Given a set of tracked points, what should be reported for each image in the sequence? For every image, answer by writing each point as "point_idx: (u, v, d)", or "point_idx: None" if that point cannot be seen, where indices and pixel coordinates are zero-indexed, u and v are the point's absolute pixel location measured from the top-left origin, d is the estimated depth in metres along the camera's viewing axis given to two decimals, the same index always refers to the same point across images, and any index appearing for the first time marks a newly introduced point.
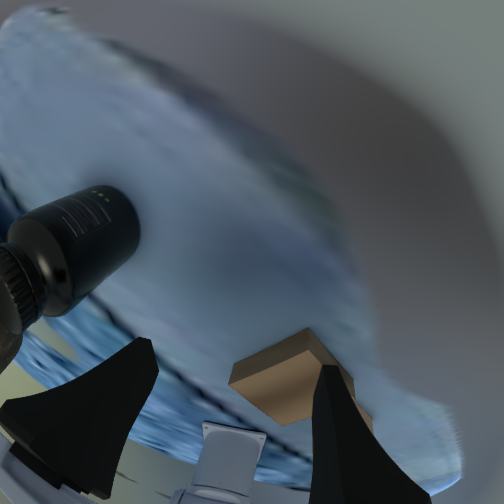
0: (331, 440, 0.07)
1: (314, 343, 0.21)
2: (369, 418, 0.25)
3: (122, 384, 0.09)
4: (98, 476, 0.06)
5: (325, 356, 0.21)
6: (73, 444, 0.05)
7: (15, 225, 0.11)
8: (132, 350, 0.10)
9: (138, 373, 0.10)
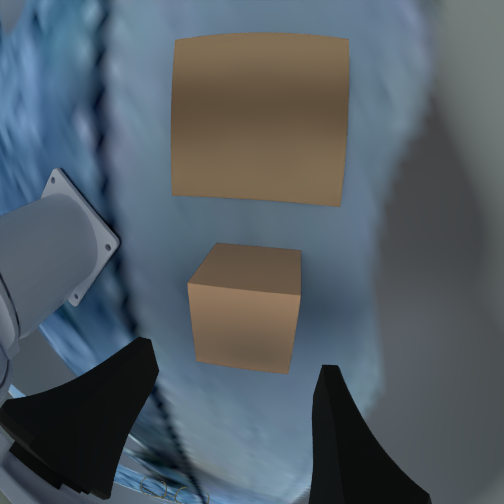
0: (331, 440, 0.07)
1: None
2: None
3: (122, 384, 0.09)
4: (98, 476, 0.06)
5: None
6: (73, 444, 0.05)
7: None
8: (132, 350, 0.10)
9: (138, 373, 0.10)
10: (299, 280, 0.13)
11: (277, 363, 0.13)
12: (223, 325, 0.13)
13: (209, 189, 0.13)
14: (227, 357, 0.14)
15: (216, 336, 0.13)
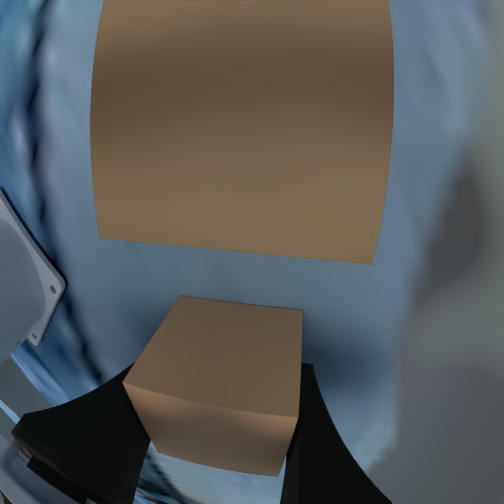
0: (297, 439, 0.07)
1: None
2: None
3: None
4: (122, 487, 0.06)
5: None
6: (99, 458, 0.05)
7: None
8: None
9: None
10: (298, 381, 0.07)
11: (263, 469, 0.08)
12: (183, 432, 0.07)
13: (149, 231, 0.07)
14: (195, 457, 0.08)
15: (177, 440, 0.08)
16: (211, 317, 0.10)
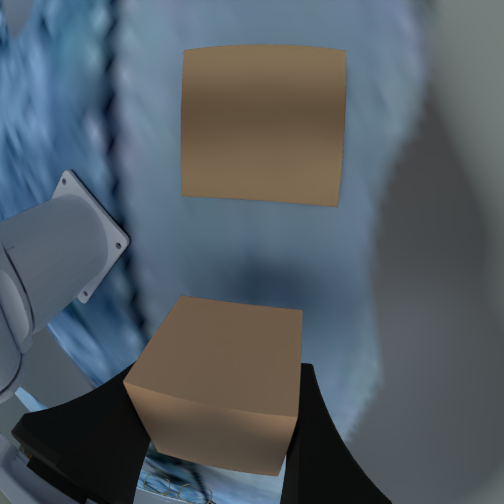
0: (297, 439, 0.07)
1: None
2: None
3: None
4: (122, 487, 0.06)
5: None
6: (99, 458, 0.05)
7: None
8: None
9: None
10: (297, 381, 0.07)
11: (263, 468, 0.08)
12: (183, 432, 0.07)
13: (216, 190, 0.14)
14: (194, 456, 0.08)
15: (177, 439, 0.08)
16: (211, 317, 0.10)
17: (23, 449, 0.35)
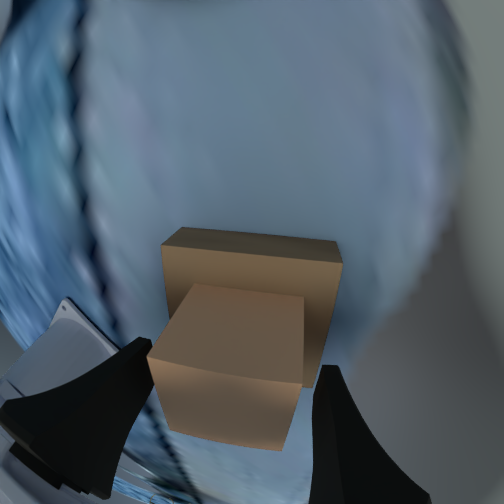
0: (331, 440, 0.07)
1: None
2: None
3: (122, 384, 0.09)
4: (98, 476, 0.06)
5: None
6: (73, 444, 0.05)
7: None
8: (132, 350, 0.10)
9: (138, 373, 0.10)
10: (301, 354, 0.09)
11: (268, 442, 0.09)
12: (198, 405, 0.09)
13: None
14: (205, 432, 0.10)
15: (191, 413, 0.09)
16: (223, 302, 0.11)
17: None
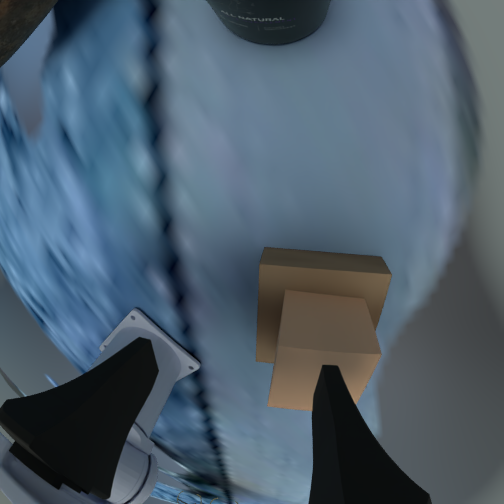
0: (331, 440, 0.07)
1: None
2: None
3: (122, 384, 0.09)
4: (98, 476, 0.06)
5: None
6: (73, 444, 0.05)
7: None
8: (132, 350, 0.10)
9: (138, 373, 0.10)
10: (375, 337, 0.13)
11: None
12: (305, 379, 0.13)
13: None
14: (299, 402, 0.14)
15: (295, 387, 0.13)
16: (313, 303, 0.15)
17: None
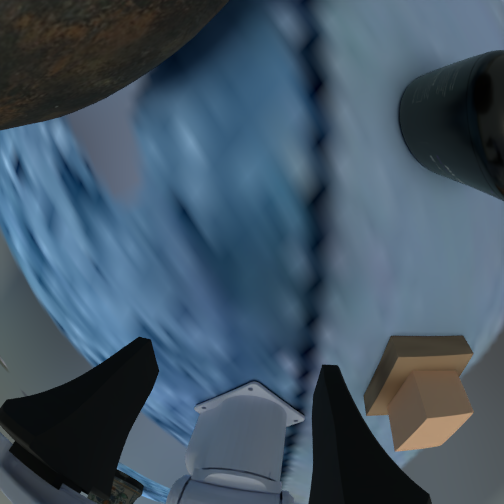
0: (331, 440, 0.07)
1: None
2: None
3: (122, 384, 0.09)
4: (98, 476, 0.06)
5: None
6: (73, 444, 0.05)
7: None
8: (132, 350, 0.10)
9: (138, 373, 0.10)
10: (468, 400, 0.14)
11: (439, 442, 0.15)
12: (429, 432, 0.14)
13: (386, 412, 0.20)
14: (416, 445, 0.15)
15: (420, 437, 0.14)
16: (431, 380, 0.17)
17: (95, 497, 0.41)
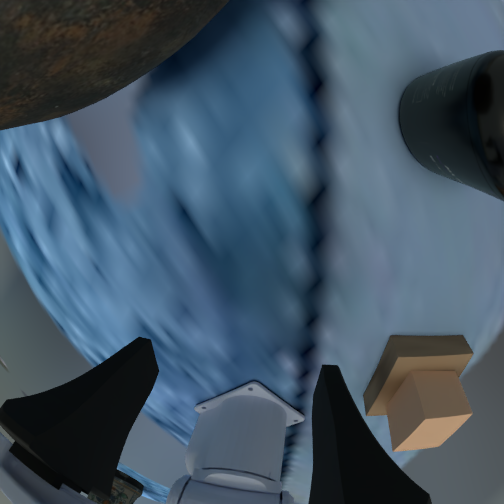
0: (331, 440, 0.07)
1: None
2: None
3: (122, 384, 0.09)
4: (98, 476, 0.06)
5: None
6: (73, 444, 0.05)
7: None
8: (132, 350, 0.10)
9: (138, 373, 0.10)
10: (467, 401, 0.14)
11: (438, 442, 0.15)
12: (427, 433, 0.14)
13: (385, 413, 0.20)
14: (414, 446, 0.15)
15: (418, 438, 0.14)
16: (430, 380, 0.17)
17: (95, 497, 0.41)
